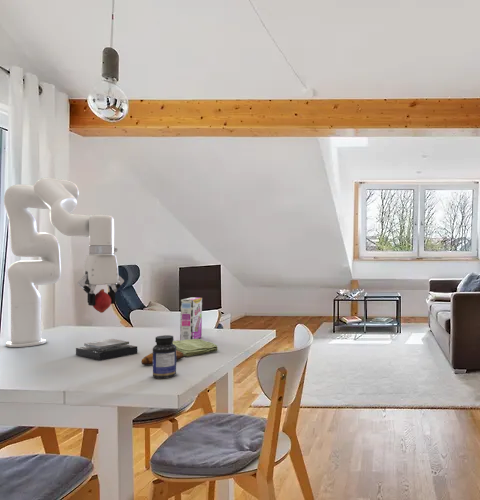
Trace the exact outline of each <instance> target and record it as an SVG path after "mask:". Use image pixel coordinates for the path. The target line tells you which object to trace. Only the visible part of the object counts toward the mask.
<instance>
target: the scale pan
mask: <svg viewBox="0 0 480 500" xmlns="http://www.w3.org/2000/svg"><path fill="white" fill-rule="evenodd" d="M126 344H127V345H130V341H127V340H122V339H115V338H109V339H103V340H97V341H91V342H84V344H83V345H84V346H83V347H85V346H89V347H93V348H98V349H103V348H108V347H114V346H120V345H126Z"/></svg>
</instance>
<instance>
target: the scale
mask: <svg viewBox="0 0 480 500" xmlns="http://www.w3.org/2000/svg"><path fill="white" fill-rule="evenodd" d="M137 354H138V345H131V344H126V345H120V346H114V347H108V348H103V349H98V348H93V347H89V346H80V347H75V356H78V357H82V358H87V359H91V360H95V361H104V360H112V359H115V358H121V357H125V356H131V355H137Z"/></svg>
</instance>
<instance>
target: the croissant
mask: <svg viewBox="0 0 480 500" xmlns="http://www.w3.org/2000/svg"><path fill="white" fill-rule="evenodd" d="M184 357H185V356H184V355H183V353H182V352H180V351H177V350H176V361H178V360H181V359H183V358H184ZM140 362H141V365H142V366H149V365H153V352H151V353H148V354H147V355H146V356H144V357H143V358H142V359H141V361H140Z"/></svg>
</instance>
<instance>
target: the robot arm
mask: <svg viewBox="0 0 480 500" xmlns="http://www.w3.org/2000/svg"><path fill="white" fill-rule="evenodd" d="M79 196H80V190H79V187H78V186H77V184H76V183H75V182H74V181H72V180H67V179H61V178H56V177H55V178H54V177H42V178H39V179H37V180H36V181H35V182H34V184H33V185H32V184H21V183H20V184H12V185H10V186H9V187H8V188H7V189H6V191H5V193H4V196H3V206H4V209H5V212H6V215H7V218H8V223H9V237H10V238H9V239H10V247H11V252H12V254H13V255H14V256H16V257H20V258H40V259H41V260H39V259H35V260H34V259H30V260H27V259H26V260H25V259H24V260H18V261H15V262H13V263H11V264H10V265H9V267H8V269H7V278H8V283H9V288H10V306H11V307H10V341H7V342H6V343H5V347H9V348H25V347H34V346H41V345H43V344H46V343H47V339H46V338H42V294H41V293H40V292H39V290H38V289H37V287H36V286H43V285H44V286H47V285H54V284H57V283H58V282H59V281H60V279H61V276H62V262H61V246H60V242H59V240H58V238H57V236H55V234H53V233H50V232H39V231H38V227H37V226H38V223H37V220H36V217H35V216H34V215H33V213H32V212H31V210H29V209H28V208H30V209H41V210H49V219H50V223H51V225H52V226H53V227H54V228H55V229H56V230H57V231H58V232H60V233H61V234H63V235H64V236H67V237H84V238H88V255H86V256H85V260H84V265H83V273H82V277H81V278H80V279H79V280H78V281H77V285H78V286H79V287H80V288H81V289H82V290H83V291H84V292H85V293H86V294H87V295H86V297H87V300H86V301H87V303H88V306H90V307H93V306H95V295H96V293H95V289H96V288H97V286H101V285H104V286H105V285H106V286H107V288H108V292H107V294H108V295H109V296H110V297H111V305H114V304H115V301H116V292H118V289H119V288H121V286H122V285H123V284H124V283H125V279H124V278H122V276H121V275H119V264H118V260H117V255H115V253H116V252H118V248H117V247H115V218H114V217H113V215H109V214H92V215H91V214H79V213H73V212H74V211H75V210H76V208H77V206H78V199H79Z"/></svg>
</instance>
